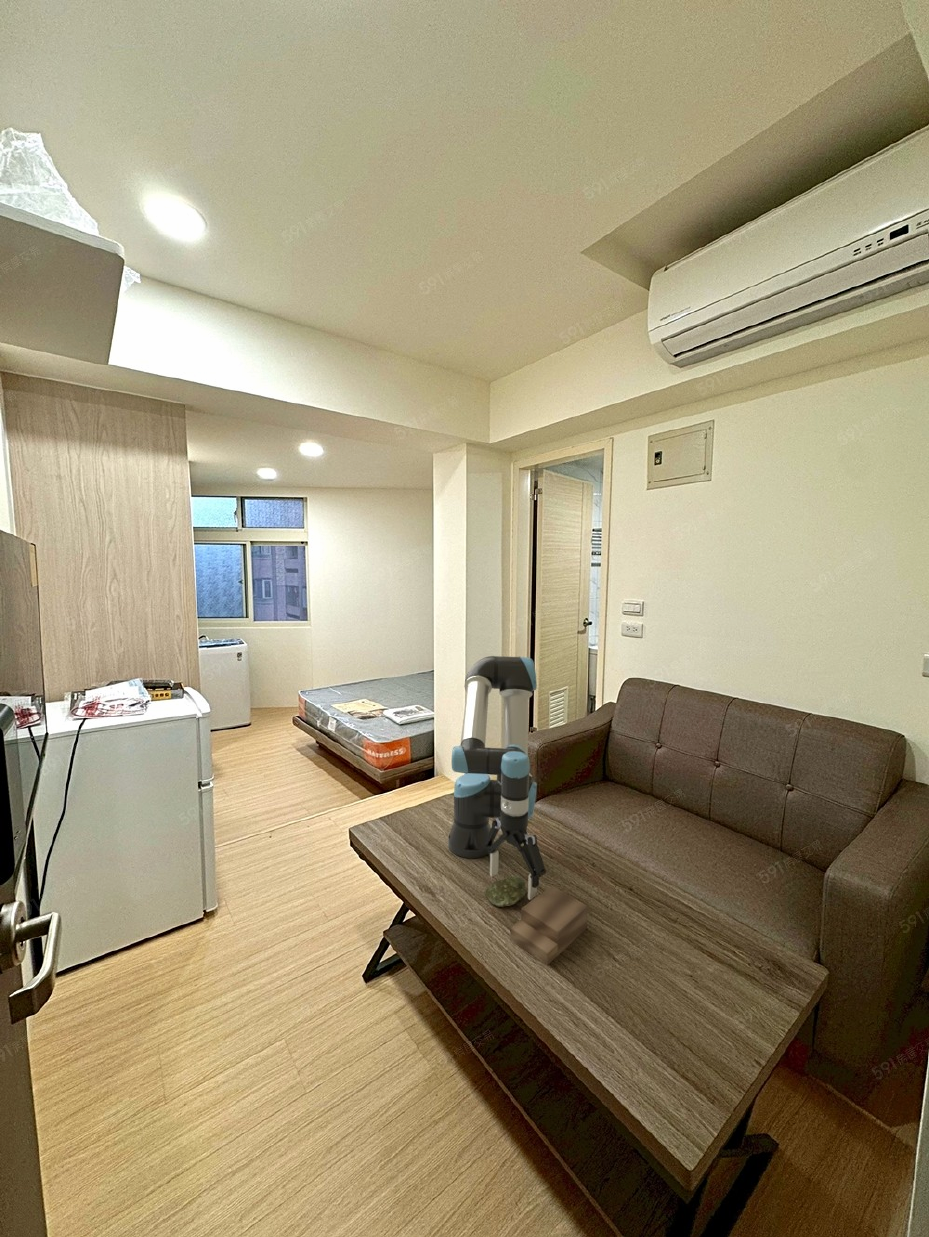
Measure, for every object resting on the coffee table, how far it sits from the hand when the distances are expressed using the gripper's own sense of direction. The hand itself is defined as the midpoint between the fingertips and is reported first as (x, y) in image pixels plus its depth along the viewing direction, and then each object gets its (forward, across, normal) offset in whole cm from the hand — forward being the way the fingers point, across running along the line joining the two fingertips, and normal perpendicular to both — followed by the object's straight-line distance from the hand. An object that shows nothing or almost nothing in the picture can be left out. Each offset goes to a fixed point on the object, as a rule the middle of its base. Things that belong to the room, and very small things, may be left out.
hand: (512, 885), depth 132 cm
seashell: (+4, -2, 0) cm, 5 cm away
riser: (+4, +15, -4) cm, 16 cm away
